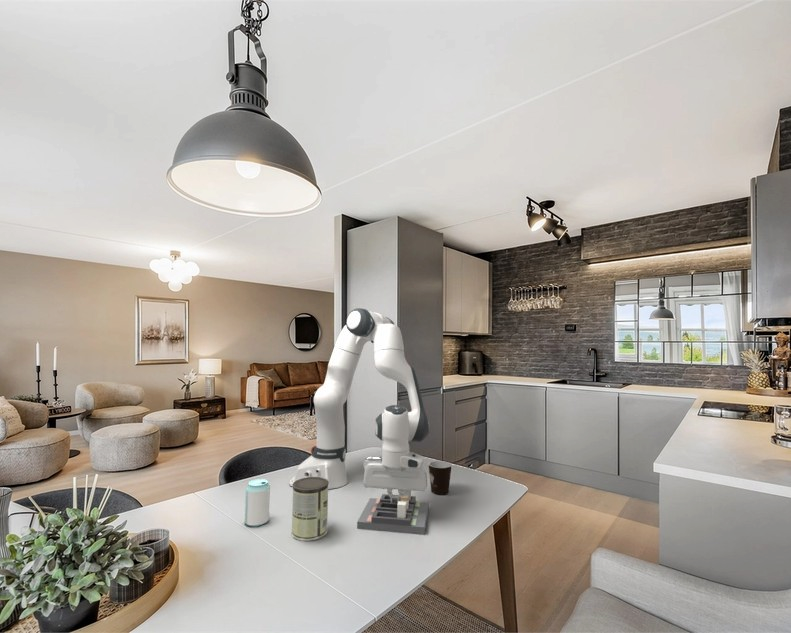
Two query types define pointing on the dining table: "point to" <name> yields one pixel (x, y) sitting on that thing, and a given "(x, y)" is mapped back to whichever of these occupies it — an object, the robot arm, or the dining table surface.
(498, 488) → the dining table surface
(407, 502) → the block
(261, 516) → the can
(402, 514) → the breaker near
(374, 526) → the panel
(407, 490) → the block
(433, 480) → the coffee mug
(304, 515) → the coffee can
